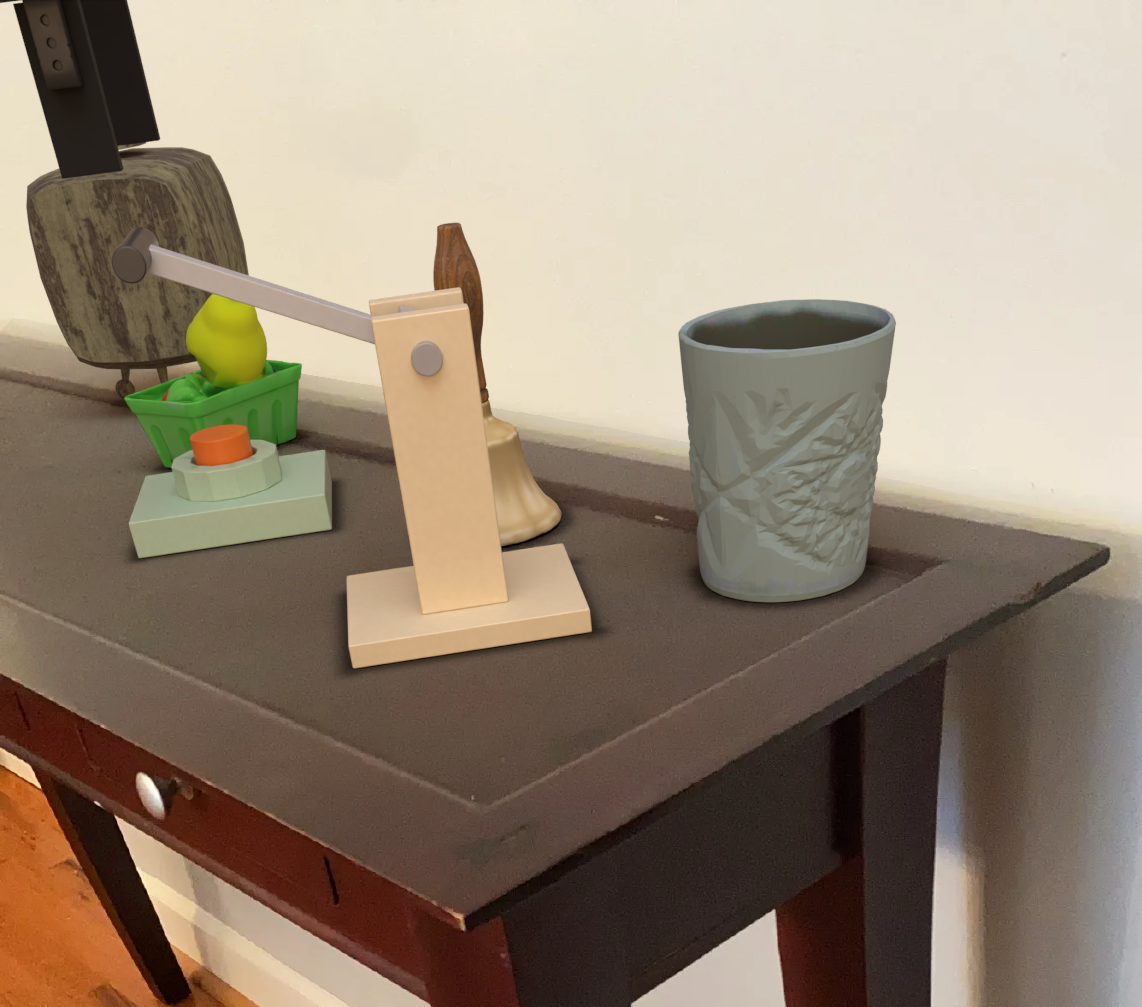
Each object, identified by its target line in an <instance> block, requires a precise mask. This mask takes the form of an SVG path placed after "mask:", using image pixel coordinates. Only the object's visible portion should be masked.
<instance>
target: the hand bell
mask: <svg viewBox="0 0 1142 1007" xmlns="http://www.w3.org/2000/svg"><path fill="white" fill-rule="evenodd" d="M432 273H433V277H432V278H433V280H432V281H433V291H437V290H444V289H451V288H458V287H460V288H461V290H462V294H463V302H464V304H467V305H468V308H469V313H470V320H471V328H472V335H473V342H474V350H475V357H476V365H477V372H478V379H479V387H480V394H481V402H482V409H483V417H484V424H485V431H486V439H487V446H488V454H489V461H490V468H491V476H492V483H493V491H494V498H495V506H496V513H497V520H498V528H499V535H500V543H501V547H506V546H511V545H514V544H515V545H516V544H519V543H524V542H526V541H528V540H531V539H534V538H536V537H539V536H540V535H542V534H545V533H548V532H549V531H551V530H552V529H553V528H554V527H556V526H557V525H558V524H559V523H560V521H561V519H562V511H561V509H560V508H559V506H558V503H556V502H555V501H554V500H553V499H552V498H551V497H550V496H548V495H546V493H544V491H543V490H542V489H541V488H540V486H539V485H538V483H537V482H536V480H535V479H534V477H533V475H532V472H531V470H530V467H529V466H528V463H527V460H526V457H525V454H524V450H523V447H522V443H521V439H520V434H519V431H518V429H517V427H516V426H515V425H514V424H512V423H510V422H508V421H504V420H502V419H500V418H497V417H495V416H494V415H493V411H492V408H491V403H490V400H489V399H490V394H489V390H488V388H487V378H486V373H485V368H484V362H483V356H482V334H483V327H484V315H485V314H484V313H485V312H484V295H483V287H482V281H481V275H480V272H479V267H478V265H477V262H476V259H475V257H474V255H473V253H472V250H471V248H470V246H469V243H468V240H466V236H465V233H464V231H463V227H462V224H461V222H448V223H447V222H446V223H442V224H439V225H438V226H437V227H436V247H435V253H434V260H433V272H432Z"/></svg>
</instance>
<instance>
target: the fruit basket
mask: <svg viewBox="0 0 1142 1007" xmlns="http://www.w3.org/2000/svg"><path fill="white" fill-rule="evenodd" d="M265 334H266V333H265V331H264V329H263V326H262V324H261V322H260V320H259V318H258V312H257V310H256V307H254V306H251V305H247V304H244V303H241V302H238V301H235V300H231V299H228V298H225V297H222V296H219V295H215V294H212V295H211V296H210V297H209V298H208V299H207V301H206V302H205V304H204V305H203V307H202V308H201V309H200V311H199V312H198V313H197V315H196V316H195V318H194V319H193V321H192V323H191V324H190V325H189V327H188V330H187V333H186V345H187V350H188V351H189V352H190V353H191V354H192V355H194V356H195V358H196V360H197V361H196V362H197V364H198V366H199V368H200V369H199V370H195V371H192V372H190V373H188V374H184V375H182V376H178V377H176V378H173V379H170V380H168V382H165V383H162V384H161V383H159V384H157V385H154V386H151V387H147V388H146V389H143V390H139V391H137V392H136V391H135V393H134V394H131V395H128V396H126V397H125V398H124V399H123V400H124V401H125V403H126V405H127V407H128V408H129V409H130V411H131V412H132V413H133V414H134V415H135V416H136V418H137V421H138V422H139V424H140V425H141V428H142V429H143V431H144V433H145V435H146V436H147V438H148V440H149V442H150V443H151V445H152V447H153V449H154V451H155V452H156V454H157V456H158V458H159V460H160V462H161V463H162V465H163V467H164V468H169V469H172V468H171V466H172V463H173V460H174V459H175V458H177V457H179V456H181V455H182V454H184V453H186V452H188V451H191V450H192V446H191V442H190V436H191V435H192V434H194V433H196V432H198V431H200V430H203V429H206V428H210V427H214V426H220V425H230V424H236V425H243V426H246V427H247V429H248V433H249V437H250V440H264V441H267V442H270V443H273V444H276V446H277V445H280V444H285V443H287V442H289V441H292V440H293V439H296V437H297V427H298V426H297V425H298V407H299V406H298V405H299V385H300V380H301V376H302V367H303V364H302V363H300V362H288V361H283V360H275V359H273V360H271V359H268V358H267V357H268V343H267V336H266V335H265Z"/></svg>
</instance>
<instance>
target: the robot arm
mask: <svg viewBox="0 0 1142 1007" xmlns="http://www.w3.org/2000/svg"><path fill="white" fill-rule="evenodd" d="M19 1H20V2H19ZM21 1H22V2H21ZM11 2H12V3H13V2H17V3H13V4H12V5H13V6H12V7H13V9H14V12H15V16H16V20H17V24H18V26H19V31H20V34H21V37H22V40H23V41H22V42H23V45H24V48H25V51H26V56H27V59H28V62H29V65H30V69H31V73H32V76H33V80H34V84H35V88H36V91H37V94H38V98H39V101H40V105H41V109H42V112H43V116H44V119H45V122H46V126H47V129H48V134H49V136H50V140H51V144H52V147H53V151H54V154H55V158H56V162H57V165H58V169H60V173H61V176H62V179H65V178H72V177H80V176H88V175H95V174H103V173H111V172H118V171H122V170H123V165H122V161H121V157H120V154H119V151H120V150H118V146H120V145H128V144H136V143H143V142H146V143H149V142H157V141H160V140H161V137H160V136H161V135H160V132H159V128H158V122H157V119H156V115H155V110H154V106H153V102H152V98H151V94H150V90H149V86H148V82H147V77H146V73H145V69H144V64H143V61H142V57H141V52H140V47H139V45H138V44H139V43H138V40H137V35H136V32H135V27H134V23H133V19H132V14H131V10H130V7H129V3H128V0H0V4H3V3H11Z"/></svg>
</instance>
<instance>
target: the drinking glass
mask: <svg viewBox="0 0 1142 1007" xmlns="http://www.w3.org/2000/svg"><path fill="white" fill-rule="evenodd" d="M896 325H897V322H896V319H895V316H894V314H893V313H891V312H890V311H889V310H888V309H886V308H882V307H880V306H877V305H874V304H868V303H863V302H856V301H851V300H841V299H840V300H839V299H819V298H816V299H815V298H813V299H811V298H810V299H784V300H774V301H766V302H757V303H750V304H744V305H738V306H733V307H727V308H722V309H718V310H715V311H711V312H708V313H705V314H702V315H699V316H697V317H695V318H692V319H691V320H688V321H687V322H685V323H684V324H683V325H682V326H681V327H680V328H679V330H678V334H677V335H678V343H679V354H680V364H681V375H682V385H683V392H684V397H685V411H686V420H687V424H688V425H687V436H688V441H689V444H688V445H689V450H688V459H689V469H690V475H691V477H692V478H691V492H692V498H693V500H694V512H695V516H697V518H698V523H697V526H696V540H697V542H696V543H697V552H698V562H699V564H698V565H699V572H700V575H701V579H702V580H703V583H704V584H705V586H706V587H707V588H708V589H710V590H711V591H713V592H714V593H717V594H718V595H721V596H723V597H727V598H731V599H735V600H739V601H740V600H741V601H747V602H754V603H755V602H756V603H786V602H797V601H803V600H809V599H815V598H820V597H824V596H827V595H830V594H833V593H836V592H839V591H841V590H844V589H845V588H847V587H849V586H852V585H853V584H854V583H855V582H857V581H858V580H859V579H860V578H861V577H862V575H863V574H864V571H865V568H866V565H867V564H866V563H867V557H868V548H869V541H870V529H871V528H870V527H871V521H870V519H871V515H872V512H873V507H874V495H875V492H876V486H875V484H876V480H877V474H878V473H877V472H878V470H879V469H878V468H879V462H878V456H879V454H880V451H881V445H882V444H881V443H882V438H881V433H882V431H883V428H884V418H883V405H884V404H883V403H884V401H885V399H886V396H887V391H888V380H889V375H890V370H891V363H892V362H891V361H892V355H893V348H894V340H895V332H896Z"/></svg>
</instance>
